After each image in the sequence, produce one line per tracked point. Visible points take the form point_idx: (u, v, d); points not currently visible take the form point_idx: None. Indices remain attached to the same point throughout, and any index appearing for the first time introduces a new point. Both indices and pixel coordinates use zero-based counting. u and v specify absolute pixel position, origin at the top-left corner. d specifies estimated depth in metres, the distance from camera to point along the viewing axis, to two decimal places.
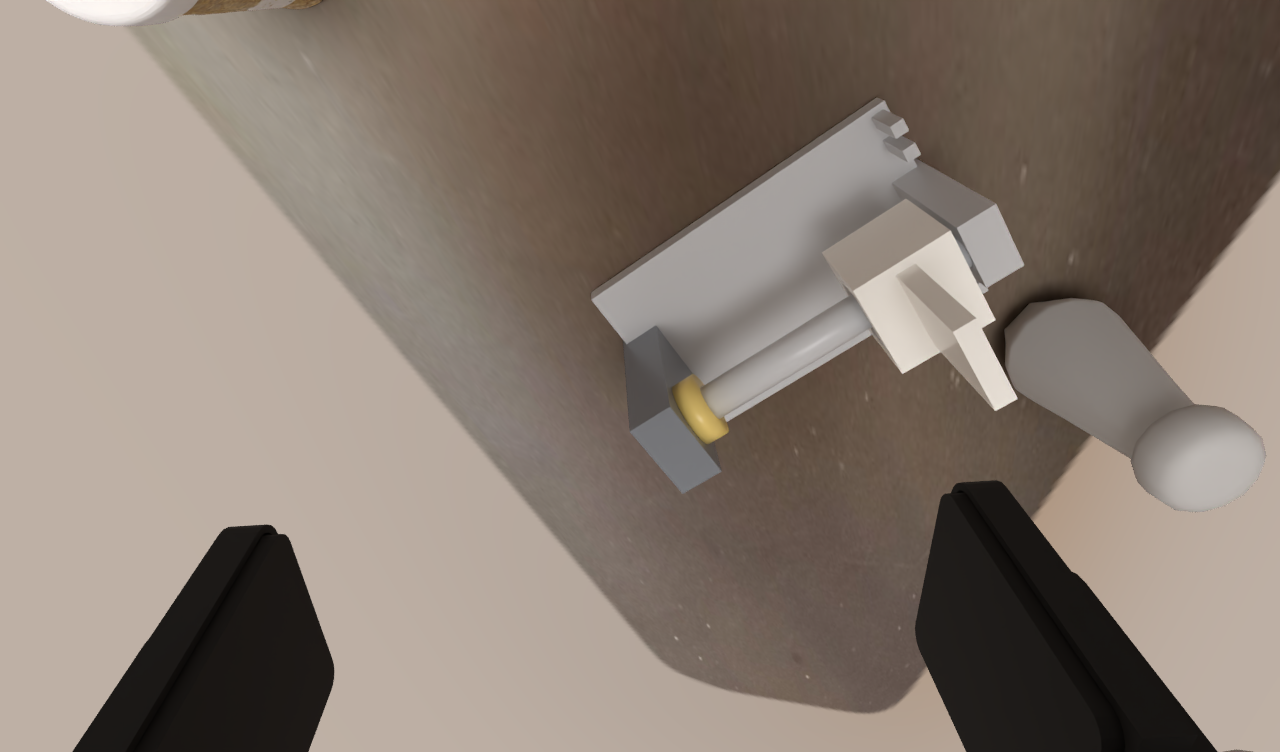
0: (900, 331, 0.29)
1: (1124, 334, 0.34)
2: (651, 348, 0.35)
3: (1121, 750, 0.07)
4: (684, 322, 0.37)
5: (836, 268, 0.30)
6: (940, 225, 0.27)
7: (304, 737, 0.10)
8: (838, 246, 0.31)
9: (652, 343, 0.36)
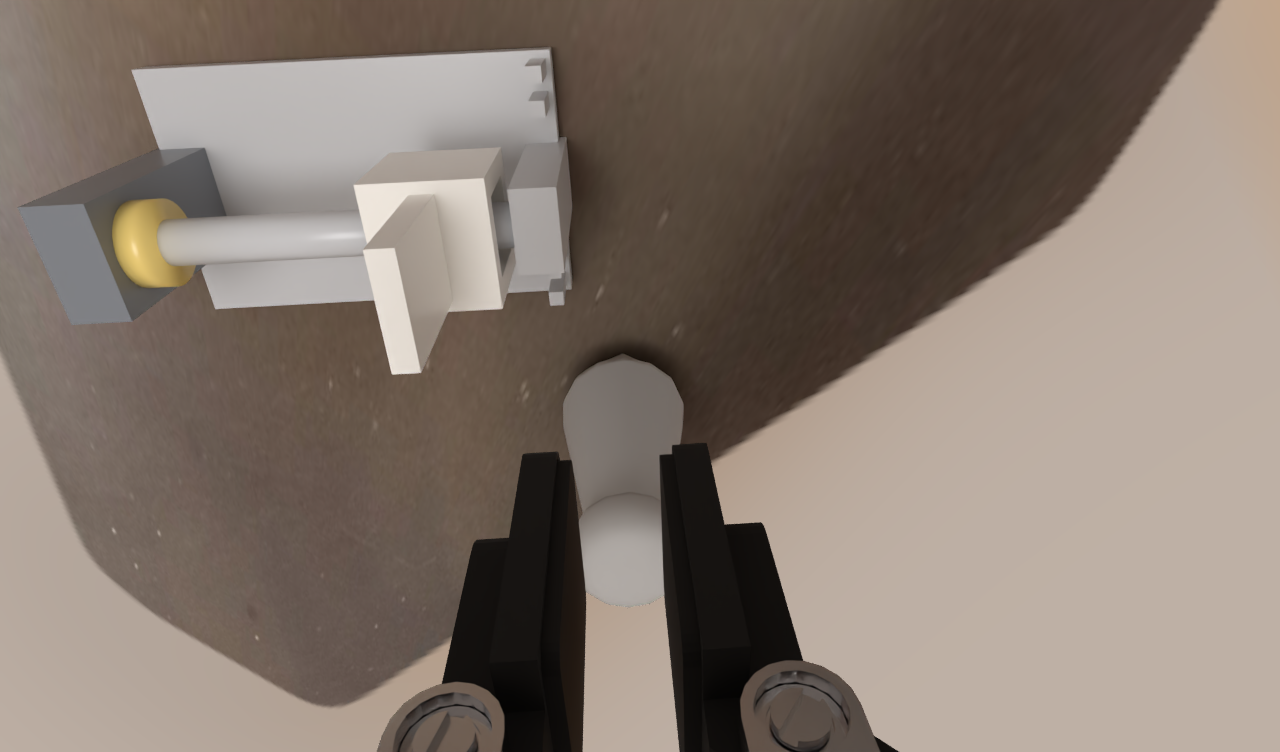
0: None
1: (662, 415, 0.32)
2: (167, 160, 0.28)
3: (700, 662, 0.08)
4: (241, 164, 0.30)
5: (375, 166, 0.25)
6: (484, 172, 0.23)
7: (583, 643, 0.11)
8: (405, 154, 0.26)
9: (174, 157, 0.28)
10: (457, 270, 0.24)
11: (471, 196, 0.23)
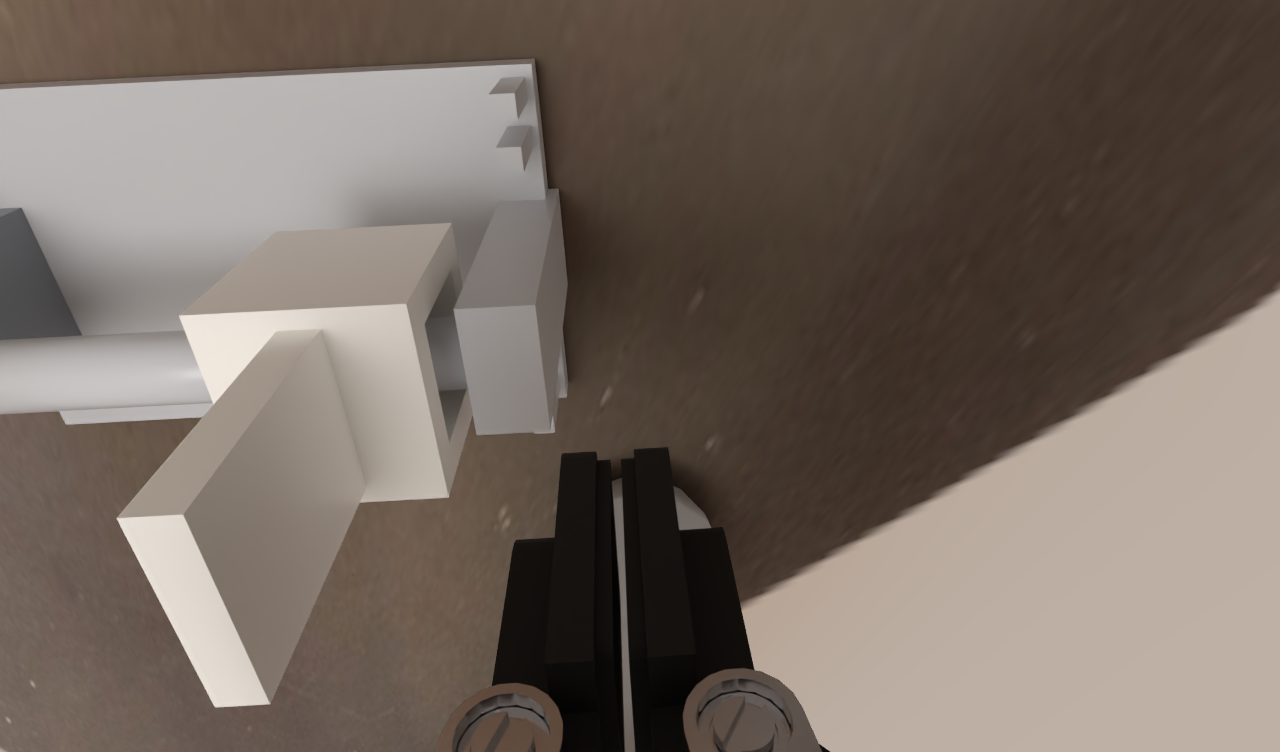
0: None
1: None
2: None
3: (647, 670, 0.08)
4: (78, 230, 0.20)
5: (239, 265, 0.15)
6: (411, 287, 0.14)
7: (621, 644, 0.11)
8: (298, 236, 0.16)
9: None
10: (370, 443, 0.15)
11: (386, 332, 0.13)
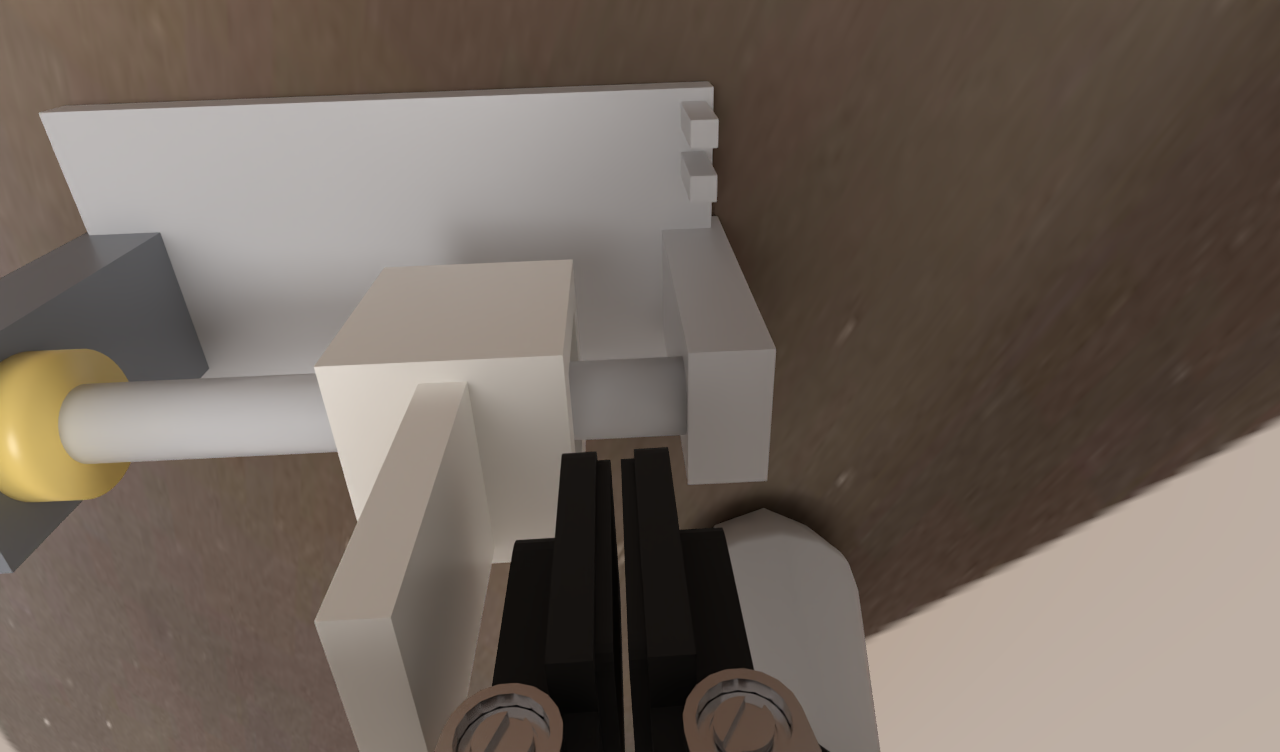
0: None
1: (851, 632, 0.21)
2: (94, 262, 0.17)
3: (647, 670, 0.08)
4: (217, 257, 0.19)
5: (359, 306, 0.14)
6: (560, 335, 0.13)
7: (621, 644, 0.11)
8: (411, 273, 0.15)
9: (107, 256, 0.17)
10: (505, 502, 0.13)
11: (537, 385, 0.12)
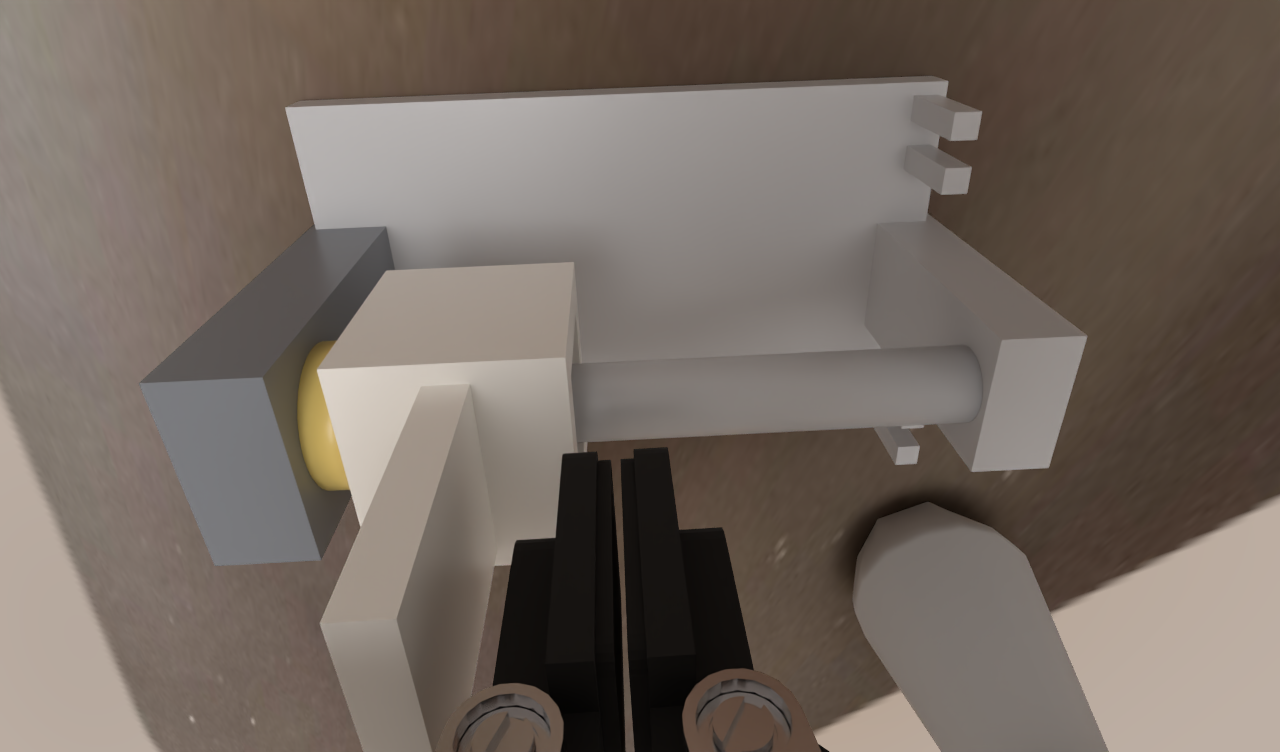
0: None
1: (1048, 623, 0.22)
2: (344, 254, 0.17)
3: (647, 670, 0.08)
4: (438, 251, 0.20)
5: (361, 309, 0.14)
6: (562, 337, 0.13)
7: (621, 644, 0.11)
8: (413, 276, 0.15)
9: (353, 249, 0.18)
10: (507, 505, 0.13)
11: (540, 388, 0.12)
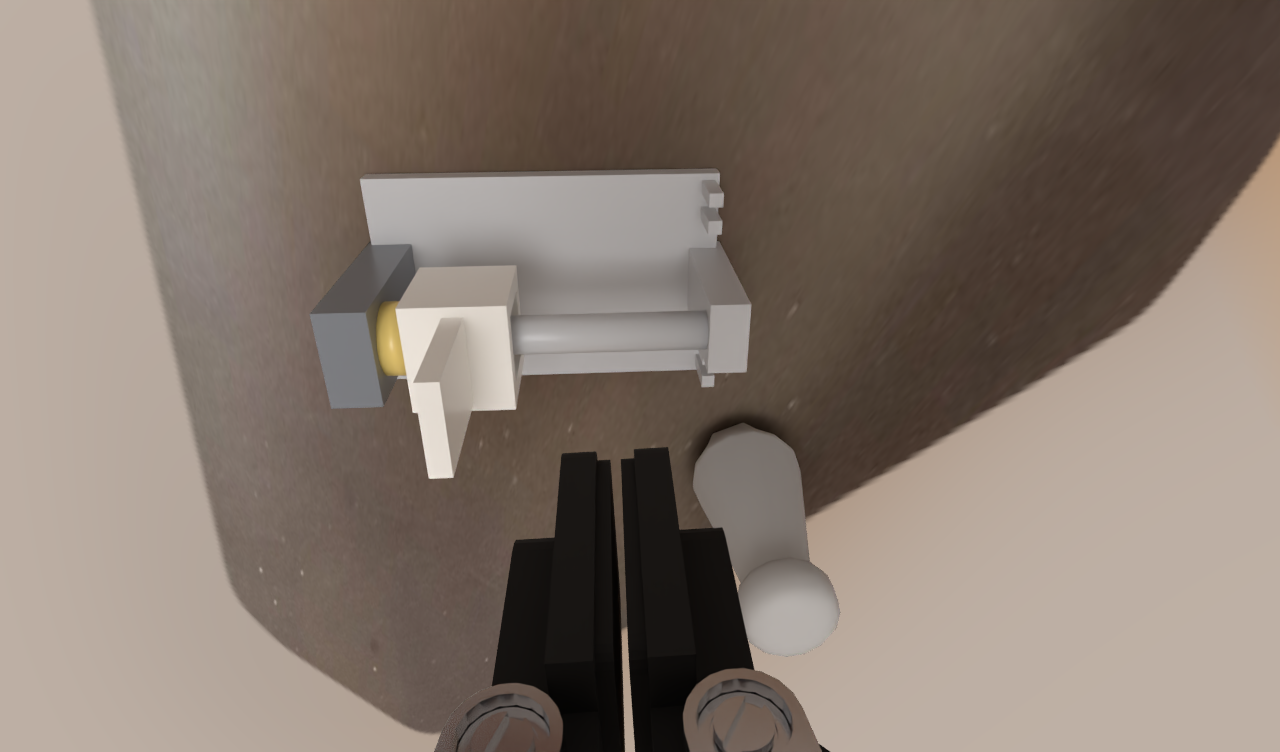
0: None
1: (793, 483, 0.37)
2: (391, 259, 0.32)
3: (647, 670, 0.08)
4: (440, 258, 0.34)
5: (410, 285, 0.29)
6: (506, 298, 0.28)
7: (621, 644, 0.11)
8: (433, 270, 0.30)
9: (395, 256, 0.33)
10: (479, 378, 0.28)
11: (494, 319, 0.27)
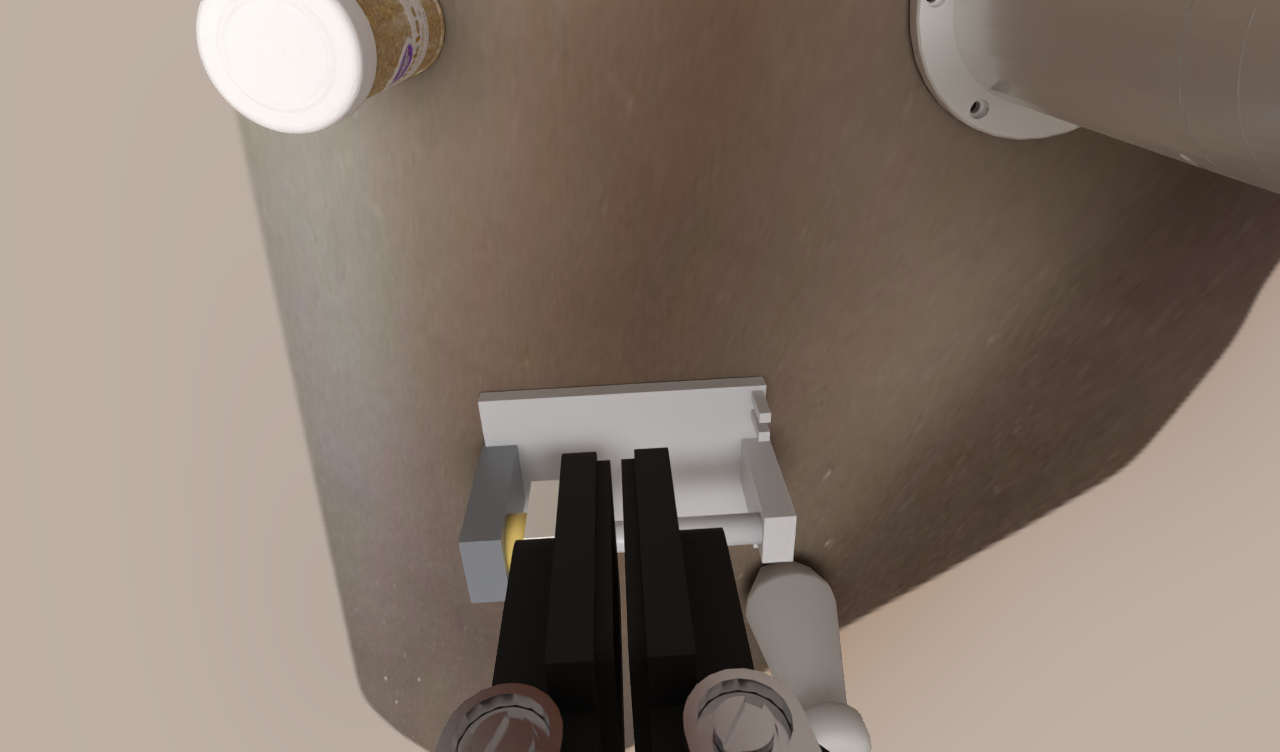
0: None
1: (830, 622, 0.45)
2: (505, 466, 0.40)
3: (647, 670, 0.08)
4: (540, 453, 0.43)
5: (529, 506, 0.37)
6: None
7: (621, 644, 0.11)
8: (543, 485, 0.39)
9: (508, 463, 0.41)
10: None
11: None
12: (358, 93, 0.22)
